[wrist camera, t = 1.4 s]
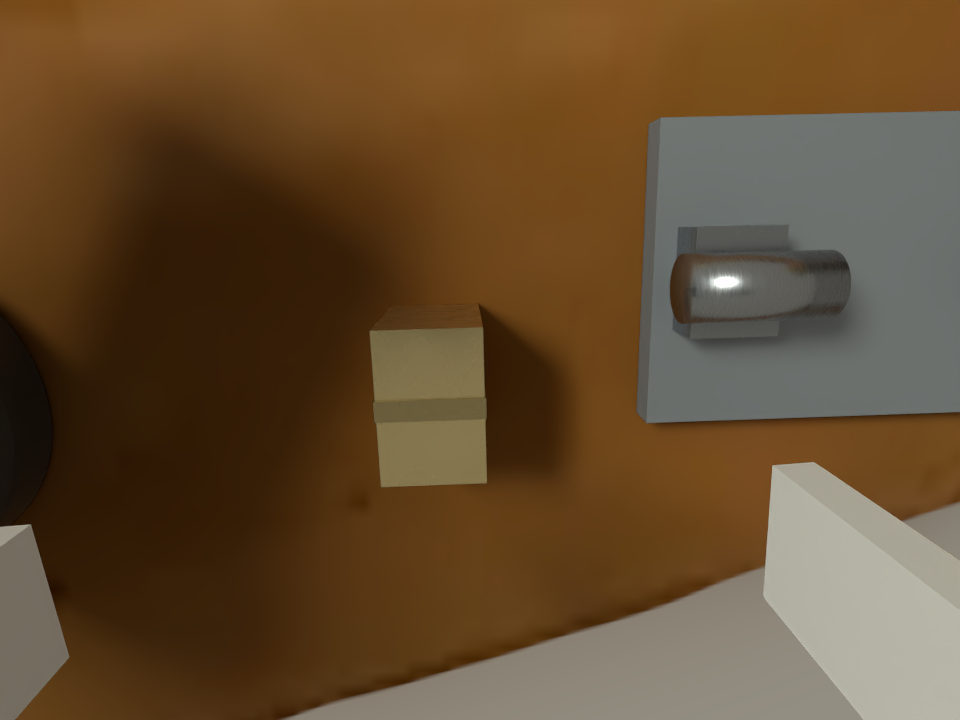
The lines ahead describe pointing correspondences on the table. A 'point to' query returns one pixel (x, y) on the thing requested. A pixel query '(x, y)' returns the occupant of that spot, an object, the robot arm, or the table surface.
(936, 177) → the base plate
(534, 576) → the table surface
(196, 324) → the table surface
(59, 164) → the table surface
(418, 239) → the table surface
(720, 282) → the shaft
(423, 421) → the tan rectangular block
